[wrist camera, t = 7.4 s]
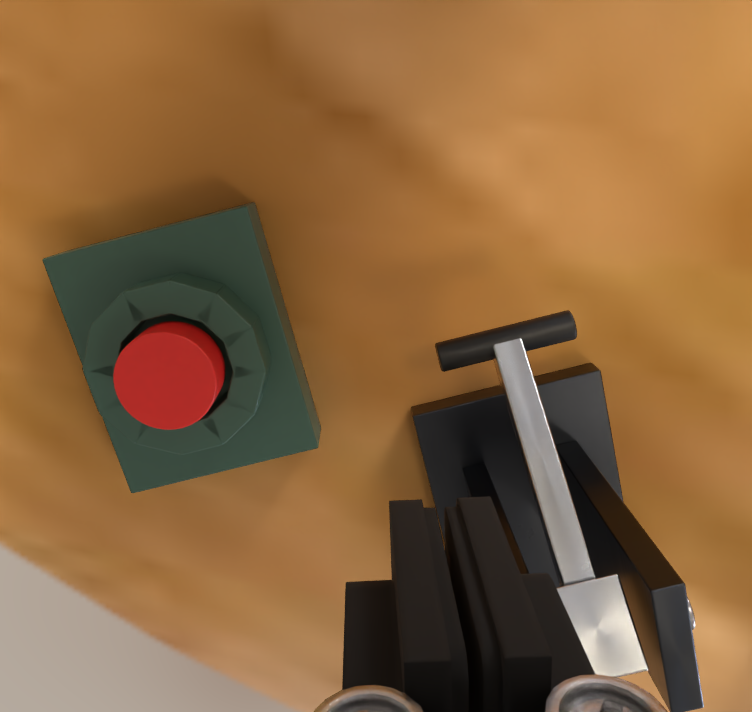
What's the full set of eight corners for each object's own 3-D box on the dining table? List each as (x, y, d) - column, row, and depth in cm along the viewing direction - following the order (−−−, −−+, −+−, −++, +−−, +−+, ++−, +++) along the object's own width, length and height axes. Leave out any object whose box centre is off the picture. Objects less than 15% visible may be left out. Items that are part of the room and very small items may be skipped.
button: (114, 333, 26) (97, 346, 25) (208, 310, 26) (198, 320, 25) (147, 423, 27) (132, 440, 26) (237, 400, 27) (229, 416, 26)
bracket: (410, 406, 31) (439, 551, 20) (591, 361, 31) (726, 483, 20) (459, 600, 34) (510, 825, 23) (627, 561, 34) (764, 770, 22)
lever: (436, 354, 28) (433, 332, 25) (563, 323, 27) (572, 297, 25) (524, 688, 24) (529, 697, 21) (675, 654, 23) (697, 659, 21)
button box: (64, 251, 29) (19, 266, 25) (254, 201, 29) (238, 209, 25) (146, 471, 32) (116, 515, 28) (321, 428, 31) (316, 467, 28)
